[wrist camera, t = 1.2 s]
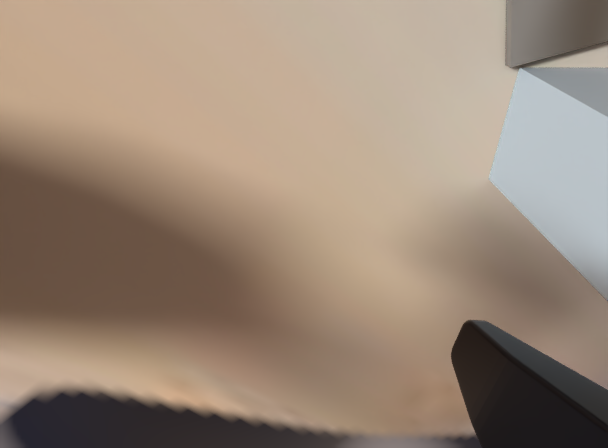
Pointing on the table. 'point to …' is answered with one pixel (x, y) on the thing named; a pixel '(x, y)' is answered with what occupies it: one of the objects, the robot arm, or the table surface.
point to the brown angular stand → (552, 28)
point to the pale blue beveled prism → (560, 162)
